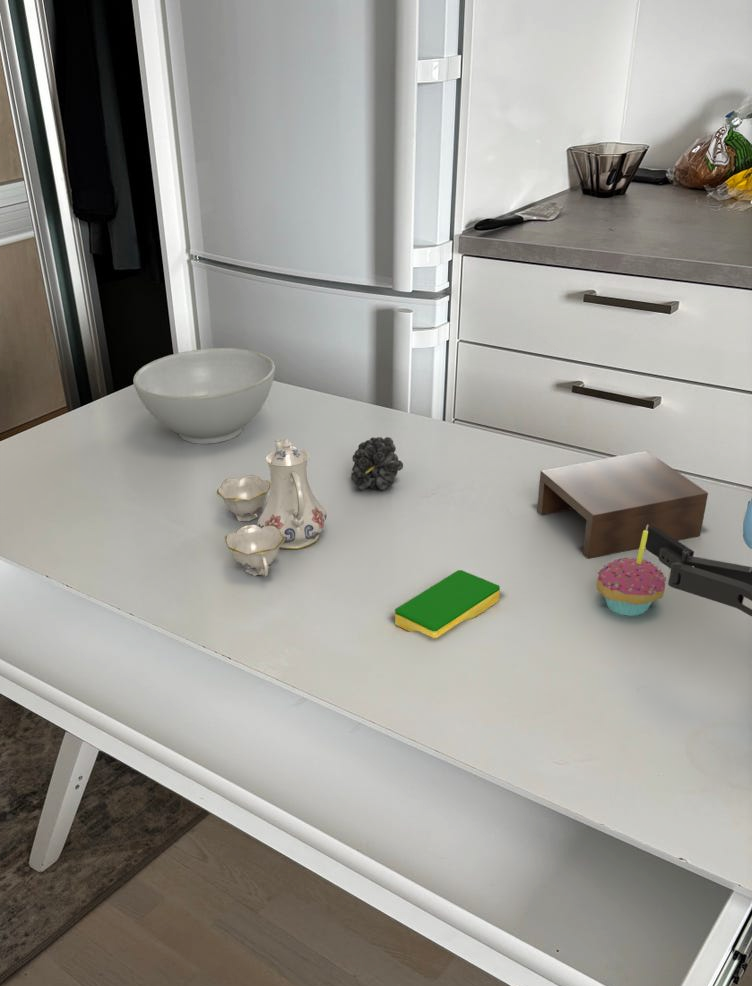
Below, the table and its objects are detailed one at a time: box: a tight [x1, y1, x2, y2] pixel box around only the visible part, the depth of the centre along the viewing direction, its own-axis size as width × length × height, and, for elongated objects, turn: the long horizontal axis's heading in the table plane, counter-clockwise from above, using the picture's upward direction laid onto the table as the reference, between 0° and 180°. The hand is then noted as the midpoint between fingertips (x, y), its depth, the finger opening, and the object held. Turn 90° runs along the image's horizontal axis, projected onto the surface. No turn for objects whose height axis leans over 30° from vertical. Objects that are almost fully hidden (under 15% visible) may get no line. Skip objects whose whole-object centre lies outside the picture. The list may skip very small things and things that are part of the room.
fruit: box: [350, 436, 404, 491], centre depth 166 cm, size 9×8×15 cm
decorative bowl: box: [132, 347, 276, 445], centre depth 188 cm, size 27×27×12 cm
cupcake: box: [596, 525, 667, 617], centre depth 126 cm, size 9×8×12 cm
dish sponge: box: [394, 569, 501, 639], centre depth 132 cm, size 7×14×2 cm, turn 132°
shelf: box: [536, 450, 709, 559], centre depth 147 cm, size 18×16×7 cm
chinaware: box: [216, 438, 327, 577], centre depth 149 cm, size 28×17×17 cm, turn 12°
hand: (699, 523), depth 112 cm, fingers open, 13 cm apart
